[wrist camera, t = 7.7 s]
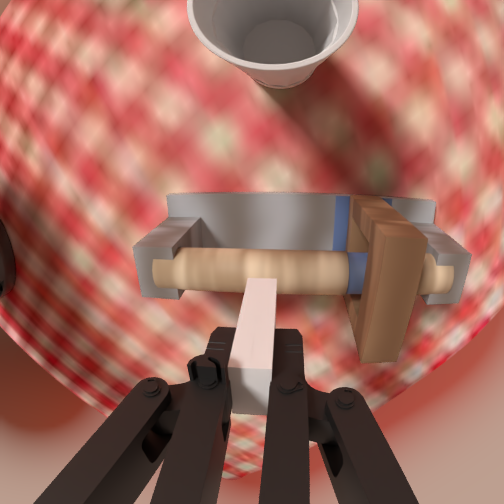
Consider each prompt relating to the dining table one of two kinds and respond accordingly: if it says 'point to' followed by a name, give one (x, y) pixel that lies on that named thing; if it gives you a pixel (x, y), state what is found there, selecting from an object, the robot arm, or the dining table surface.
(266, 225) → the rail
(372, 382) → the dining table surface
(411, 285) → the collar
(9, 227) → the dining table surface
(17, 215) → the dining table surface
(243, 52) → the cup
